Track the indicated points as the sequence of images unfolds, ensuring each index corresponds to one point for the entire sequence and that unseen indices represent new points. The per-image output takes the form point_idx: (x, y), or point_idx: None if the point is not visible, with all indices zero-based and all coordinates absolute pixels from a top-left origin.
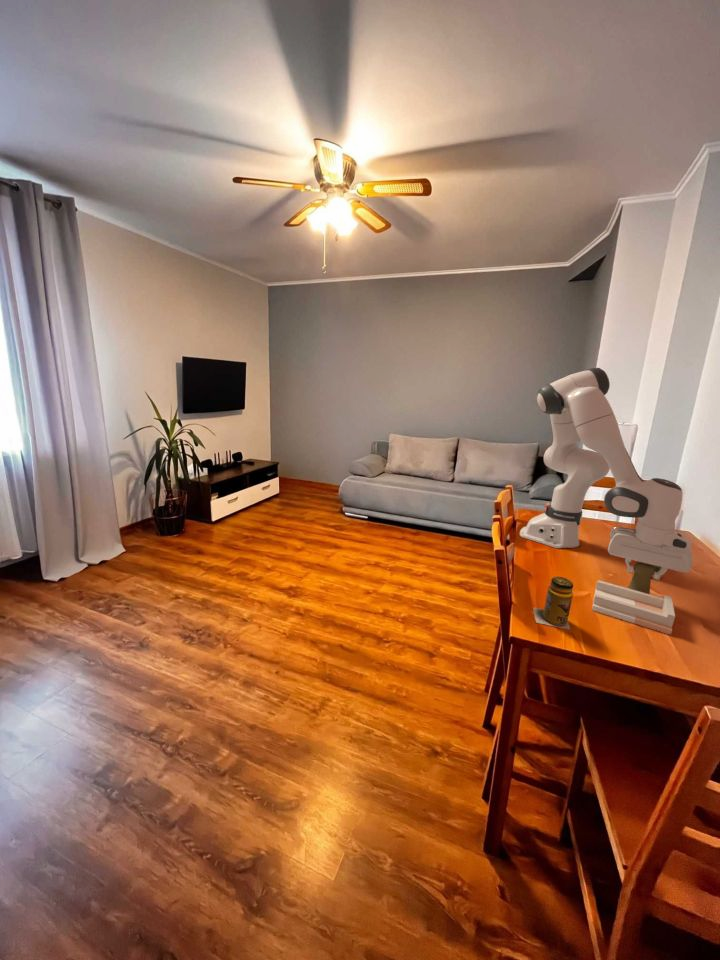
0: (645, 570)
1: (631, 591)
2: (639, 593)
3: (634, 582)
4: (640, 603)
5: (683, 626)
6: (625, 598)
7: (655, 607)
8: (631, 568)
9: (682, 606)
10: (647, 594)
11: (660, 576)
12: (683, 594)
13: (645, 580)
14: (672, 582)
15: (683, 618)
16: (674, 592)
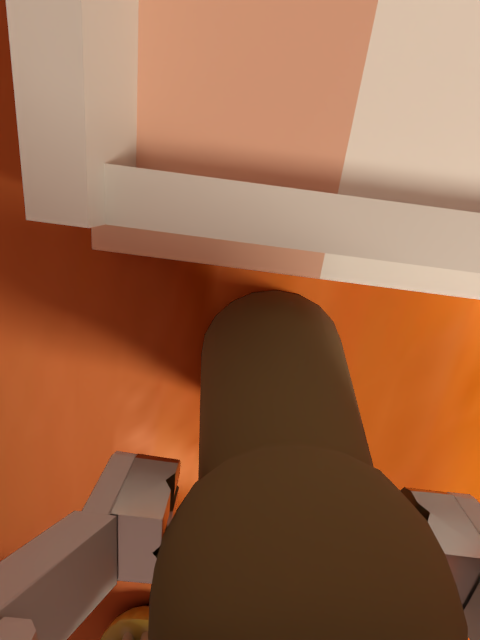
0: (327, 522)
1: (408, 203)
2: (332, 196)
3: (346, 390)
4: (300, 155)
5: (5, 12)
6: (413, 185)
7: (186, 149)
8: (472, 552)
9: (18, 360)
10: (251, 224)
11: (113, 626)
12: (16, 506)
13: (266, 405)
14: None
15: (8, 174)
16: (57, 507)
